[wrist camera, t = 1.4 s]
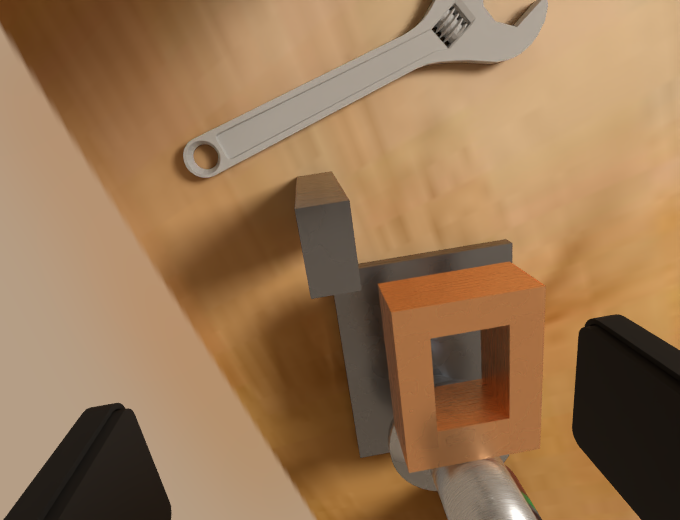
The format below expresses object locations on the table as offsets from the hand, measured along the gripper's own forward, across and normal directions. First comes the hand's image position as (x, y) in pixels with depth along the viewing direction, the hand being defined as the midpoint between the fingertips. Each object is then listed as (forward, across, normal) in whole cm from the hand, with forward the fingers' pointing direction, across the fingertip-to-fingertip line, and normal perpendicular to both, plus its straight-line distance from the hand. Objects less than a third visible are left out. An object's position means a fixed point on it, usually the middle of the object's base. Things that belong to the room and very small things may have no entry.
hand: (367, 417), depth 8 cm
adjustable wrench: (+23, -4, -9) cm, 25 cm away
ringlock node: (+22, -7, +14) cm, 27 cm away
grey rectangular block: (+22, 0, 0) cm, 22 cm away
